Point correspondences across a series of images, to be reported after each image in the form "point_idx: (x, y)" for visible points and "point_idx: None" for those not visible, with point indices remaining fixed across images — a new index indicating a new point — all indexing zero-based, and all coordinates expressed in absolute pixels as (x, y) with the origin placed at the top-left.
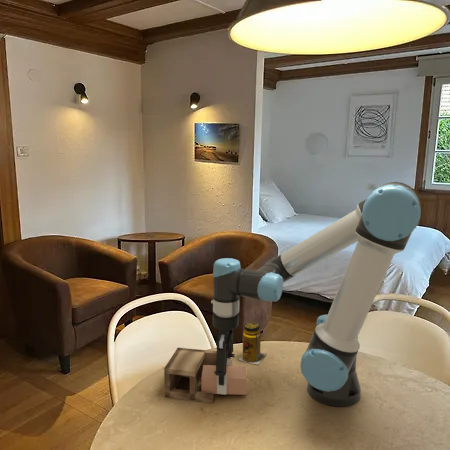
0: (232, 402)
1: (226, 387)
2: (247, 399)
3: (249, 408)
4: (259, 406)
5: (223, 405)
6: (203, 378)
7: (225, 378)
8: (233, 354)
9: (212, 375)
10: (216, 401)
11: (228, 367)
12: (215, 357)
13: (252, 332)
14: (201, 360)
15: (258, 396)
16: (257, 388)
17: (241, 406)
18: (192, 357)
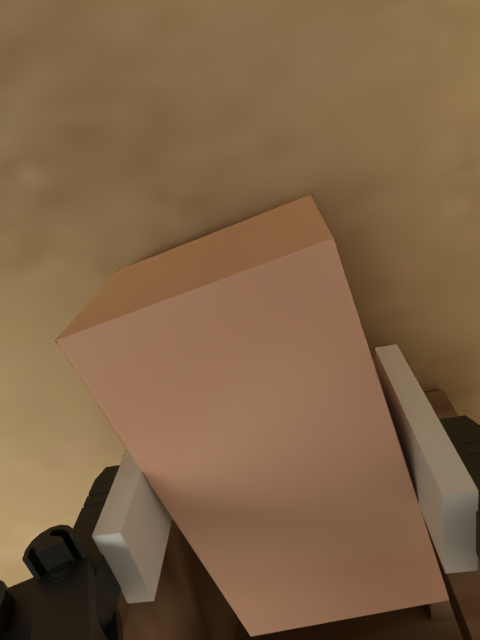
0: (397, 271)
1: (404, 379)
2: (320, 174)
3: (447, 107)
4: (392, 21)
5: (452, 316)
6: (443, 581)
7: (452, 452)
8: (35, 562)
9: (389, 548)
10: (416, 372)
11: (188, 483)
12: (145, 635)
13: None
14: None
15: (239, 93)
16: (125, 148)
17: (433, 186)
18: None
